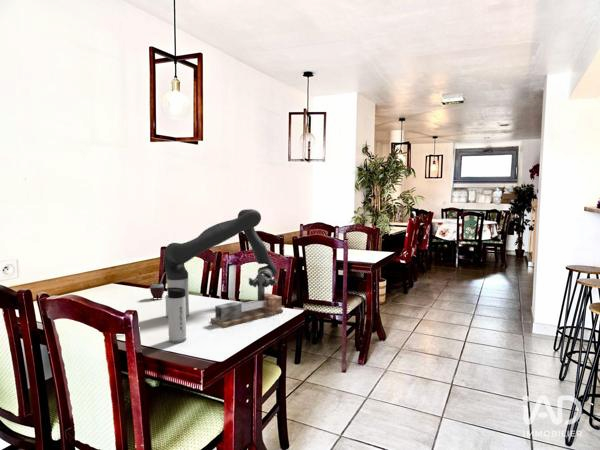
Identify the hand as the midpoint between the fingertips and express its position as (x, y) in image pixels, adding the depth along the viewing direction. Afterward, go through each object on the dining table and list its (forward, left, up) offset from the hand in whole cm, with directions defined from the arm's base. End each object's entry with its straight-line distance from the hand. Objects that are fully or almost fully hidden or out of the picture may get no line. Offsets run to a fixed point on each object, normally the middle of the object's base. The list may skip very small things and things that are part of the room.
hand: (260, 285), depth 183 cm
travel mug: (-43, -4, -14) cm, 46 cm away
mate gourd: (-19, +64, -14) cm, 68 cm away
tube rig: (-6, +2, -14) cm, 15 cm away
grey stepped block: (-3, +2, -11) cm, 11 cm away
